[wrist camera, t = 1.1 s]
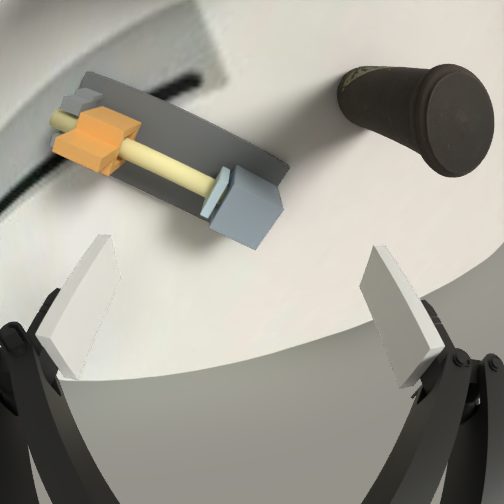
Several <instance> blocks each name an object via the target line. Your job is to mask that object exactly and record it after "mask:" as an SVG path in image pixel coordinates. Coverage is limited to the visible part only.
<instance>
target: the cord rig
mask: <svg viewBox="0 0 504 504" xmlns="http://www.w3.org/2000/svg"><path fill="white" fill-rule="evenodd" d="M101 106H104V107H106V108H109V109H111V110H114V111H116V112H118V113H121V114H123V115H125V116H128V117H130V118H132V119H135V120H137V121H139V122H141V123H142V124H141V126H140V128H139V131H138V133H137V135H136V138H135V140H132V139H129V138H127V137H125V138H124V141H123V143H122V146H121V149H120V151H119V154H118V156H119V157H121V158H123V159H125V160H126V162H125V163H124V164H122V165H121V166H120V167H119V168H118V169H116V170H115V171H114V172H113V173H111V174H110V175H111V176H113V177H115V178H117V179H119V180H122V181H124V182H126V183H128V184H130V185H132V186H134V187H136V188H138V189H141V190H143V191H145V192H147V193H149V194H151V195H153V196H155V197H157V198H160V199H162V200H164V201H166V202H168V203H170V204H172V205H174V206H176V207H178V208H180V209H183V210H185V211H187V212H189V213H191V214H193V215H195V216H197V217H199V218H201V219H203V220H205V221H208V222H210V225H209V228H210V229H212V230H214V231H216V232H218V233H220V234H222V235H224V236H227V237H229V238H231V239H233V240H235V241H237V242H239V243H241V244H243V245H245V246H247V247H250V248H252V249H254V250H256V249H257V247H258V246H259V244H260V243H261V242H262V240H263V239H264V237H265V236H266V234H267V233H268V232H269V230H270V229H271V227H272V226H273V224H274V223H275V222H276V220H277V219H278V217H279V216H280V214H281V213H282V212H283V210H284V208H283V205H282V201H281V198H280V194H279V191H278V187H277V186H278V185H279V183H280V182H281V181H282V179H283V178H284V176H285V175H286V173H287V172H288V170H289V169H290V167H289V165H287V164H286V163H284V162H282V161H281V160H279V159H277V158H275V157H274V156H272V155H270V154H269V153H267V152H265V151H263V150H261V149H260V148H258V147H256V146H254V145H252V144H251V143H249V142H247V141H245V140H243V139H241V138H239V137H238V136H236V135H234V134H232V133H230V132H228V131H226V130H224V129H222V128H220V127H218V126H216V125H214V124H212V123H210V122H208V121H206V120H204V119H202V118H200V117H198V116H196V115H194V114H192V113H190V112H188V111H185V110H183V109H181V108H179V107H177V106H175V105H172V104H170V103H168V102H166V101H163V100H161V99H159V98H157V97H154V96H152V95H150V94H147V93H145V92H142V91H140V90H137V89H135V88H133V87H130V86H128V85H125V84H122V83H120V82H117V81H115V80H112V79H109V78H107V77H104V76H101V75H98V74H95V73H93V72H86V73H85V76H84V78H83V80H82V83H81V86H80V88H79V89H76V91H75V93H74V95H69V96H64V98H63V101H62V104H61V107H60V109H57V110H56V111H55V112H54V113H53V115H52V116H51V119H50V126H51V127H54V128H56V129H58V130H61V131H60V132H57V133H55V134H52V138H51V142H50V147H52V148H53V146H54V142H55V138H56V137H57V136H60V135H62V134H64V133H67V132H69V131H71V130H74V129H75V128H76V125H77V122H78V119H79V116H80V113H81V112H84V111H87V110H90V109H94V108H97V107H101Z"/></svg>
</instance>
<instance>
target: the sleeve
mask: <svg viewBox="0 0 504 504" xmlns="http://www.w3.org/2000/svg"><path fill="white" fill-rule="evenodd" d="M141 124H142V123H141V122H139V121H137V120H135V119H132V118H130V117H128V116H125V115H123V114H121V113H118V112H116V111H114V110H111V109H109V108H106V107H104V106H101V107H97V108H94V109H90V110H87V111H84V112H81V113H80V116H79V119H78V122H77V125H76V128H75V129H74V130H71V131H69V132H67V133H64V134H62V135H60V136H57V137H56V138H55V142H54V146H53V150H52V152H54V153H57V154H59V155H61V156H63V157H65V158H67V159H69V160H71V161H74V162H76V163H78V164H80V165H82V166H84V167H86V168H88V169H91V170H93V171H95V172H97V173H98V172H100V173H102V174H104V175H106V176H109V175H110V174H111V173H113V172H114V171H115V170H116V169H118V168H119V167H120V166H121V165H122V164H124V163H125V162H126V160H125V159H123V158H121V157H119V156H118V154H119V151H120V149H121V146H122V143H123V141H124V138H125V137H127V138H129V139H132V140H135V138H136V135H137V133H138V131H139V128H140V126H141Z"/></svg>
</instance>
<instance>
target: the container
mask: <svg viewBox="0 0 504 504" xmlns="http://www.w3.org/2000/svg"><path fill="white" fill-rule="evenodd" d="M337 97H338V103H339V106H340V109H341V111H342V112H343V114H344V115H345V116H346V118H348V119H349V120H350V121H351V122H353V123H355V124H357V125H359V126H361V127H364V128H366V129H369V130H371V131H374V132H376V133H378V134H381V135H383V136H385V137H387V138H390V139H392V140H394V141H396V142H398V143H400V144H402V145H404V146H406V147H408V148H410V149H412V150H414V151H415V152H417V153H419V154H420V155H421V156H422V158H423V159H424V161H425V162H426V163H427V164H428V165H429V166H430V167H431V168H432V169H433V170H434V171H435V172H437V173H438V174H440V175H442V176H445V177H453V178H454V177H461V176H464V175H466V174H468V173H470V172H471V171H473V170H474V169H475V168H476V167H477V166H478V165H479V164H480V163H481V162H482V161H483V159H484V158H485V156H486V154H487V152H488V150H489V148H490V145H491V142H492V138H493V133H494V112H493V107H492V103H491V100H490V97H489V95H488V92H487V90H486V89H485V87H484V85H483V84H482V83H481V81H480V80H479V79H478V78H477V77H476V76H475V75H474V74H473V73H472V72H470V71H469V70H467V69H465V68H463V67H461V66H458V65H455V64H442V65H438V66H435V67H433V68H432V69H419V68H407V67H387V66H363V67H358V68H355V69H353V70H351V71H349V72H348V73H347V74H346V75H345V76H344V77H343V79H342V80H341V82H340V84H339V87H338V92H337Z"/></svg>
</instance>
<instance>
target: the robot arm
mask: <svg viewBox="0 0 504 504" xmlns="http://www.w3.org/2000/svg"><path fill="white" fill-rule="evenodd" d="M120 280H121V274H120V270H119V266H118V262H117V258H116V254H115V250H114V245H113V241H112V236H111V235H98V236H97V237H96V238H95V240H94V241H93V243H92V244H91V245H90V247H89V248H88V250H87V251H86V252H85V254H84V255H83V257H82V258H81V260H80V261H79V263H78V264H77V266H76V267H75V268H74V270H73V272H72V273H71V275H70V276H69V278H68V279H67V281H66V282H65V284H64V285H63V287H62V289H59V288H56V289H55V290H54V291H53V292H52V293H50V294H49V295H48V297H47V298H46V300H45V302H44V303H43V305H42V307H41V308H40V310H39V312H38V313H37V315H36V317H35V318H34V320H33V322H32V324H31V325H30V327H29V329H28V331H27V333H26V332H25V330H24V329H23V327H22V325H21V324H20V323H18V322H9V323H7V324H6V325H4V326H3V327H2V328H1V329H0V345H1V347H0V504H39V501H38V497H37V493H36V489H35V484H34V480H33V475H32V469H31V464H30V458H29V451H28V446H29V449H30V452H31V455H32V458H33V460H34V463H35V465H36V468H37V470H38V473H39V475H40V477H41V480H42V482H43V484H44V487H45V489H46V491H47V493H48V495H49V497H50V499H51V501H52V503H53V504H120V503H119V502H118V500H117V498H116V497H115V496H114V494H113V492H112V491H111V489H110V488H109V486H108V484H107V483H106V481H105V479H104V478H103V476H102V474H101V472H100V471H99V469H98V467H97V466H96V464H95V462H94V460H93V458H92V456H91V454H90V452H89V450H88V449H87V446H86V444H85V442H84V440H83V438H82V436H81V434H80V432H79V430H78V428H77V425H76V423H75V421H74V418H73V416H72V414H71V411H70V409H69V407H68V404H67V401H66V399H65V396H64V393H63V391H62V388H61V385H60V382H59V380H58V378H57V376H56V374H57V371H58V369H59V371H60V372H61V373H62V375H63V376H64V377H66V378H70V379H74V380H78V381H79V378H80V375H81V373H82V370H83V367H84V364H85V362H86V359H87V356H88V354H89V351H90V349H91V346H92V344H93V341H94V339H95V336H96V334H97V332H98V329H99V327H100V324H101V322H102V320H103V317H104V315H105V313H106V311H107V308H108V306H109V304H110V302H111V300H112V297H113V295H114V293H115V291H116V289H117V287H118V285H119V282H120ZM359 287H360V289H361V291H362V293H363V296H364V298H365V300H366V303H367V305H368V308H369V310H370V312H371V315H372V317H373V320H374V322H375V325H376V327H377V330H378V332H379V335H380V337H381V340H382V342H383V345H384V348H385V350H386V353H387V356H388V358H389V361H390V364H391V366H392V369H393V372H394V375H395V378H396V381H397V384H398V387H399V388H405V387H410V386H414V384H415V383H416V382H417V381H418V380H419V379H421V382H422V385H421V386H420V387H419V388H418V389H417V391H416V392H415V393H414V394H413V395H412V397H411V398H414V397H415V396H416V398H415V400H414V403H413V405H412V408H411V411H410V413H409V415H408V417H407V420H406V422H405V424H404V427H403V429H402V431H401V433H400V435H399V437H398V440H397V442H396V444H395V446H394V448H393V450H392V452H391V454H390V455H389V457H388V459H387V461H386V463H385V465H384V467H383V469H382V470H381V472H380V474H379V476H378V478H377V479H376V481H375V482H374V484H373V486H372V487H371V489H370V491H369V492H368V494H367V495H366V497H365V499H364V500H363V502H362V503H361V504H430V503H431V501H432V498H433V497H434V494H435V492H436V490H437V488H438V485H439V483H440V480H441V478H442V475H443V473H444V470H445V468H446V465H447V462H448V465H447V472H446V477H445V482H444V488H443V492H442V497H441V501H440V504H504V365H503V362H502V361H501V359H500V358H499V357H498V356H497V355H495V354H487V355H486V356H485V357H484V359H483V360H482V361H480V360H473V359H470V357H469V355H468V354H467V353H466V352H465V351H463V350H462V349H459V348H455V347H454V345H453V343H452V342H451V339H450V337H449V336H448V334H447V332H446V330H445V328H444V327H443V325H442V324H441V321H440V319H439V318H438V317H437V314H436V312H435V310H434V309H433V307H432V306H431V305H430V304H428V303H427V301H426V300H420V299H419V297H418V295H417V294H416V292H415V290H414V289H413V287H412V285H411V284H410V282H409V280H408V279H407V277H406V276H405V274H404V272H403V271H402V269H401V268H400V266H399V265H398V263H397V261H396V260H395V258H394V257H393V255H392V254H391V252H390V251H389V249H388V248H387V246H382V245H373V248H372V251H371V255H370V258H369V261H368V264H367V266H366V269H365V272H364V275H363V278H362V281H361V284H360V286H359ZM479 398H480V404H479V402H478V399H479Z"/></svg>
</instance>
